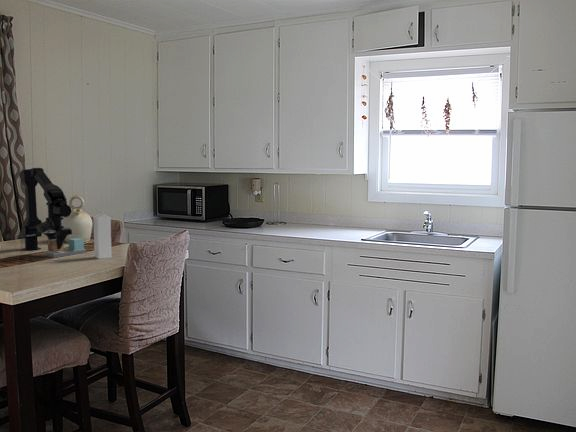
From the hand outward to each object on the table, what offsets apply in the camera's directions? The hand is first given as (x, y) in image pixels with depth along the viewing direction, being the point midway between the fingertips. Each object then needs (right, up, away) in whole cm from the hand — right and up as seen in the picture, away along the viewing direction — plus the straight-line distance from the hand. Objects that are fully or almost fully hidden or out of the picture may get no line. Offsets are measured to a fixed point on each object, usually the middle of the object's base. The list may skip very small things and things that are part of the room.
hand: (56, 248), depth 268 cm
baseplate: (+3, -3, +5) cm, 6 cm away
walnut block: (0, -1, 0) cm, 1 cm away
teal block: (+6, -1, +9) cm, 11 cm away
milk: (+23, -4, -3) cm, 23 cm away
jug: (-5, +1, +43) cm, 43 cm away
